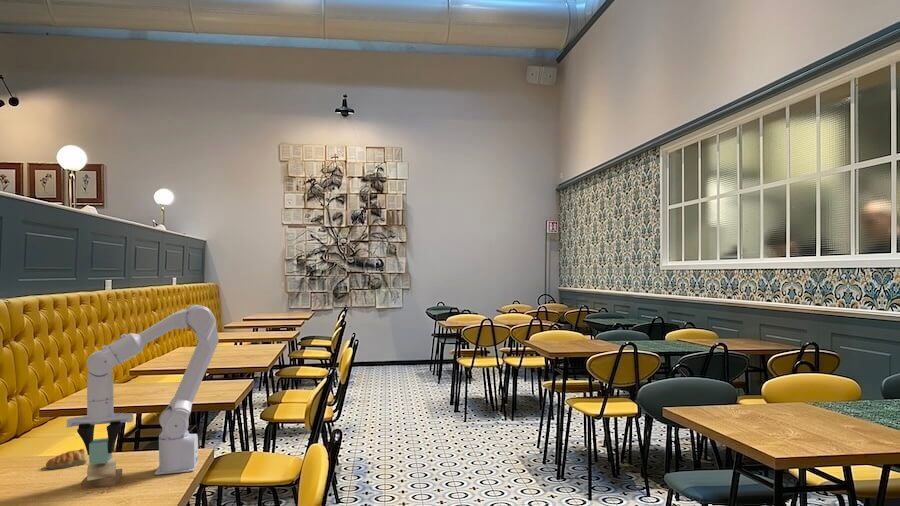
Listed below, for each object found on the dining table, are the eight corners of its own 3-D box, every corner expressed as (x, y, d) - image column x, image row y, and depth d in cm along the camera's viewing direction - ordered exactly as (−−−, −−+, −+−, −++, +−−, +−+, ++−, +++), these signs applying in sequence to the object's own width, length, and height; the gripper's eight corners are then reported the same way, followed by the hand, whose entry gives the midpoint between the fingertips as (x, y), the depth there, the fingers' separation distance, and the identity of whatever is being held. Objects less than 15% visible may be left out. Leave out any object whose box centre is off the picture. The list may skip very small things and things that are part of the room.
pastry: (47, 472, 154) (47, 458, 154) (44, 467, 159) (44, 453, 159) (88, 464, 160) (88, 450, 160) (84, 458, 165) (83, 445, 165)
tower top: (115, 468, 150) (115, 459, 150) (115, 475, 144) (115, 465, 145) (88, 473, 147) (88, 463, 147) (87, 480, 142) (87, 470, 142)
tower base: (122, 478, 150) (122, 468, 150) (113, 488, 143) (113, 477, 143) (92, 481, 148) (92, 471, 148) (81, 491, 141) (81, 480, 141)
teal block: (112, 457, 148) (112, 437, 148) (107, 462, 144) (107, 442, 144) (94, 458, 147) (94, 439, 147) (89, 463, 143) (89, 443, 143)
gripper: (136, 393, 152) (136, 445, 151) (74, 397, 148) (74, 450, 148) (128, 399, 145) (129, 453, 145) (63, 403, 141) (63, 459, 141)
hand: (100, 452), depth 146 cm, fingers closed on teal block, 4 cm apart
